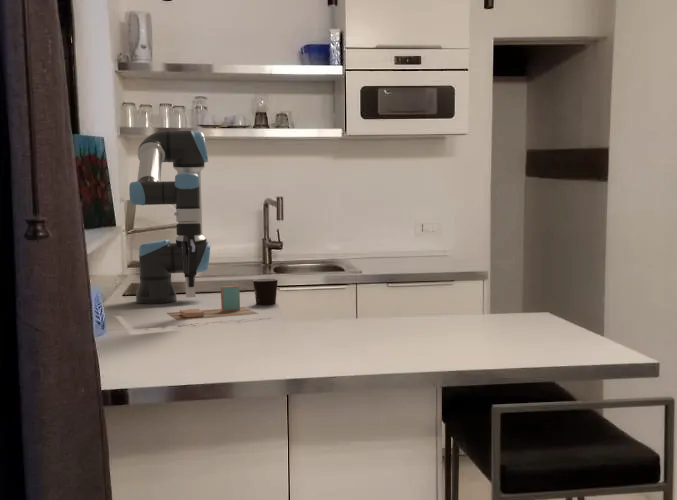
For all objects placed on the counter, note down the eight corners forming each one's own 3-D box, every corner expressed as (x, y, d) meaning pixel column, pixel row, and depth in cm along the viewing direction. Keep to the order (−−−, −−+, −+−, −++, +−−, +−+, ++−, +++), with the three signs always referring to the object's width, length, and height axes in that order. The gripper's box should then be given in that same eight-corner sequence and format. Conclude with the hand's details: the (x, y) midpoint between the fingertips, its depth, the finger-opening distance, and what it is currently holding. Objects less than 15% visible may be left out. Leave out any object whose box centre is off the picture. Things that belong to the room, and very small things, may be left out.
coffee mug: (274, 310, 245) (273, 281, 244) (250, 309, 246) (249, 281, 246) (283, 305, 256) (282, 277, 255) (260, 305, 258) (260, 277, 257)
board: (166, 317, 232) (166, 312, 232) (243, 311, 243) (243, 306, 243) (177, 325, 217) (177, 320, 217) (258, 318, 228) (258, 313, 227)
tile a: (179, 310, 228) (185, 313, 220) (198, 308, 230) (204, 311, 223) (179, 314, 228) (185, 318, 221) (198, 313, 230) (204, 316, 223)
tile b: (221, 310, 235) (220, 286, 234) (239, 309, 237) (238, 285, 237) (222, 311, 233) (221, 287, 233) (240, 310, 236) (239, 286, 235)
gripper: (172, 222, 229) (174, 295, 230) (180, 223, 217) (183, 300, 218) (195, 222, 232) (197, 294, 233) (205, 222, 220) (207, 298, 221)
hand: (190, 296), depth 226 cm, fingers closed
